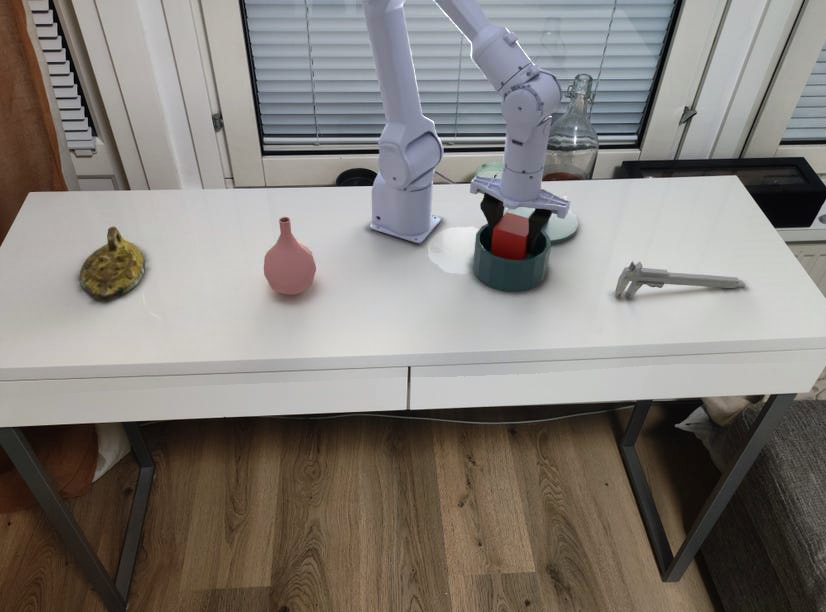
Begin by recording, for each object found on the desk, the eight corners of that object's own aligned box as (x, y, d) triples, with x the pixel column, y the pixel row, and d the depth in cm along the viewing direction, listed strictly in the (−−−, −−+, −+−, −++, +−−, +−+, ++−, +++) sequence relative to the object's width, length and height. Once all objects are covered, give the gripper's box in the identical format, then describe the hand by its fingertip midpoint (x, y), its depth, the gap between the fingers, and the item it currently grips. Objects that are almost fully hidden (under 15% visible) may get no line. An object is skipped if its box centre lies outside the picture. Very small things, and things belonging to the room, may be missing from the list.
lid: (492, 233, 125) (495, 210, 122) (519, 198, 133) (522, 176, 130) (563, 254, 121) (567, 231, 118) (587, 216, 129) (591, 194, 126)
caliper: (616, 300, 113) (625, 266, 108) (613, 295, 113) (622, 261, 109) (744, 288, 115) (758, 254, 111) (741, 283, 116) (754, 250, 112)
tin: (461, 278, 116) (463, 248, 112) (489, 240, 123) (493, 212, 119) (530, 300, 112) (535, 270, 109) (555, 260, 120) (560, 231, 116)
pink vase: (264, 274, 116) (255, 207, 108) (314, 269, 117) (308, 202, 109) (268, 306, 111) (258, 238, 102) (320, 300, 112) (314, 232, 103)
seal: (142, 305, 112) (148, 246, 123) (138, 280, 109) (145, 221, 119) (74, 306, 110) (87, 245, 121) (69, 280, 107) (82, 220, 118)
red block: (490, 255, 115) (493, 228, 111) (502, 239, 118) (506, 211, 114) (521, 265, 113) (525, 237, 110) (533, 248, 116) (537, 220, 113)
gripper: (464, 163, 105) (457, 244, 114) (564, 189, 100) (549, 272, 110) (484, 141, 110) (476, 221, 119) (580, 166, 105) (565, 247, 114)
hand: (512, 244), depth 115 cm, fingers closed on red block, 5 cm apart
